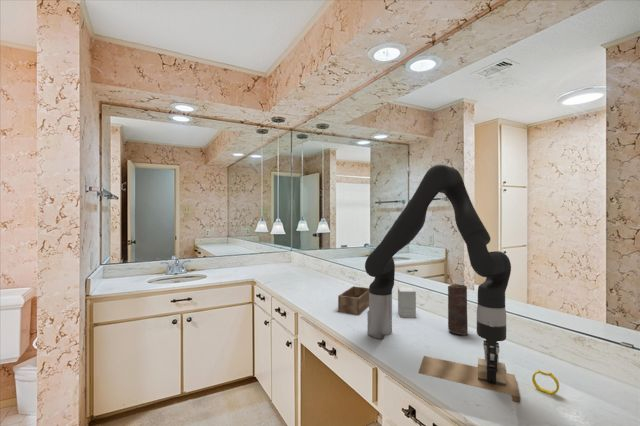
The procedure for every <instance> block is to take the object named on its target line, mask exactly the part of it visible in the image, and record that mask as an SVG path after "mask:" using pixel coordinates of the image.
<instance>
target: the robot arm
mask: <svg viewBox="0 0 640 426" xmlns="http://www.w3.org/2000/svg"><path fill="white" fill-rule="evenodd" d="M439 193H440V194H444V195H445V196H446V198H447V199H448V200H449V202H450V204H451V205H452V208H453V212H454V221H455V224H456V227H457V229H458V232H459V233H460V235H461V237H462V239H463V241H464V243H465V244H466V245H465V246H466V249H467V254H468V259H469V264H470V266H471V268H472V269H473V271H474V272H475V273H476V274H477V275H478V276H480V277H482V278H485V280H484V281H483V282H482V283H480V284H479V286H478V287H477V307H476V334H477V336H478V337H480V338H481V339H483V345H482V346H483V351H484V359H485V361H487V366H486V369H487V382H488V383H491V384H496V373H497V371H498V369H497V363H498V362H500V360H499V358H500V356H499V353H500V344H499V342H503V341H506V339H507V310H506V309H507V308H506V290H507V287H508V285H509V281H510V277H511V271H512V266H511V265H512V264H511V260H510V258H509V256H508V255H507V254H506V253H504V252H502V251H498V250H496V251H489V249H488V246H487V245H488V244H490V242H491V236H490V234H489V231H488V230H487V228H486V227H485V225H484V223H483V222H482V220H481V218H480V217H479V215H478V213H477V211H476V209H475V207H474V204H473V203H472V201H471V198H470V196H469V193H468V191H467V188H466V185H465V182H464V180H463V177H462V175H461V173H460V171H459V170H458V169H456V168H454V167H451V166H449V165H445V164H441V163H436V164H434V165H432V166H431V167H430V168H428V170H427V171H426V173H425V174H424V176H423V178H422V179H421V181H420V183H419V185H418V187H417V189H416V190H415V192H414V194H413V195H412V197H411V198H410V200H409V201H408V203H407V204H406V206H405V207H404V209H403V210H402V211H401V213H400V214H399V215H398V217H397V218H396V219H395V221H394V222H393V224H392V225H391V227H390V228H389V229H388V231H387V233H386V234H385V236H384V237H383V239H382V240H381V241H380V242H379V244H378V245H377V246H376V247H375V249H373V251H372V252H370V254H369V255H368V256H367V258H366V260H365V263H364V270H365V272H366V274H367V275H368V276H370V277H372V278H374V279H373V281H372V282H371V283H370V284H369V287H368V288H369V307H368V311H367V336H370V337H372V338H375V339H382V340H383V339H384V338H385V337H386V336H390V335H391V334H393V289H394V285H395V272H396V271H395V270H396V269H395V267H396V266H395V265H396V264H395V260H394V256H395V255H396V254H397V253H399V251H401V250H402V249H403V248H405V247H406V246H408V244H409V245H410V243H411V242H412V241H413V240H414V239H416V236H417V235H418V234H419V233H420V231H421V230H422V228H423V227H424V224H425V222H426V218H427V210H428V208H429V206H430V204H431V203H432V202H433V200H435V199H434V198H436V196H437V195H438V194H439ZM489 365H492V366H489ZM493 366H495V367H493Z"/></svg>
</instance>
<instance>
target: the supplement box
mask: <svg viewBox="0 0 640 426" xmlns="http://www.w3.org/2000/svg"><path fill="white" fill-rule="evenodd" d="M416 292H417V291H416V290H415V289H414V288H413V287H399V286H398V287H397V312H398V315H399V316H400V318H414V319H415V318H416V319H417V297H416V296H417V293H416Z"/></svg>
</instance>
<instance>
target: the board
mask: <svg viewBox="0 0 640 426" xmlns="http://www.w3.org/2000/svg"><path fill="white" fill-rule="evenodd" d="M418 374H419V375H420V374H421V375H425V376H430V377H434V378H437V379H443V380H446V381H451V382H455V383H459V384H462V385H467V386H472V387H477V388H480V389H484V390H489V391H493V392H497V393H502V394H506V395H509V396H511V400H512V402H517V403H520V402H521V395H520V392H519V391H520V390H519V387H518V384H517V383H518V382H517V378H516V374H512V373H508V372H506V386H505V385H500V384H491V383H488V382H487V381H483V380H478V366H476V365H470V364H465V363H460V362H456V361H451V360H446V359H441V358H436V357H432V356H427V355H423V358H422V361H421V364H420V366H419V369H418Z"/></svg>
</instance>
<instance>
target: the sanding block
mask: <svg viewBox="0 0 640 426" xmlns="http://www.w3.org/2000/svg"><path fill="white" fill-rule="evenodd" d="M486 366H487V361H485V358H480V357H478V358H477V367H478V380H483V381H487V369H486ZM489 366H492V365H489ZM493 367H495V366H493ZM497 369H498V371H497V373H496V384H500V385H505V386H506V373H507V368H506V363H505V362H501V361H499V362H498V363H497Z"/></svg>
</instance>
